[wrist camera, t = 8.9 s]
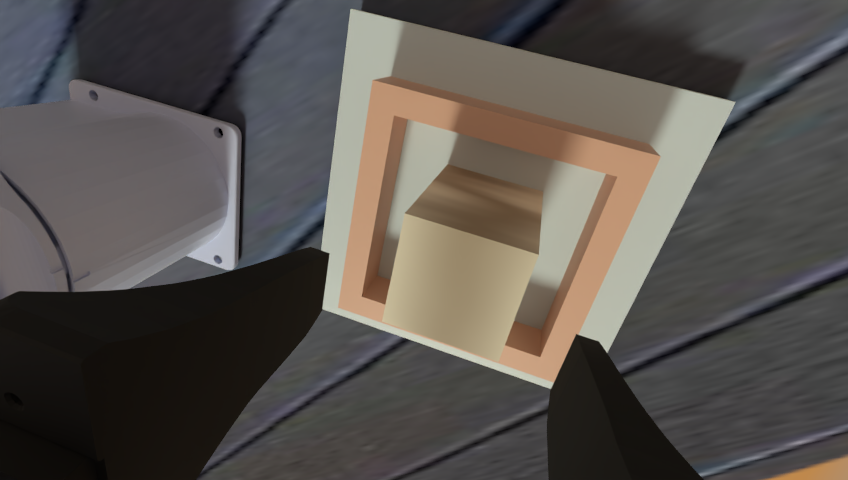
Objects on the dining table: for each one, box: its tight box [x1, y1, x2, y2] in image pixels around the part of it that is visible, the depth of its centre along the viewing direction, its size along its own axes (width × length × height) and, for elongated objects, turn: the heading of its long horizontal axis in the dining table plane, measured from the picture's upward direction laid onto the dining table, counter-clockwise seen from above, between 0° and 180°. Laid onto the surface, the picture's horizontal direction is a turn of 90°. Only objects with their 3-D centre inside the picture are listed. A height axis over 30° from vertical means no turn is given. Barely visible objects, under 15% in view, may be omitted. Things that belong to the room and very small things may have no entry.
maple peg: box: [382, 164, 543, 362], centre depth 16 cm, size 4×4×6 cm
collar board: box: [321, 9, 735, 389], centre depth 19 cm, size 14×14×3 cm
